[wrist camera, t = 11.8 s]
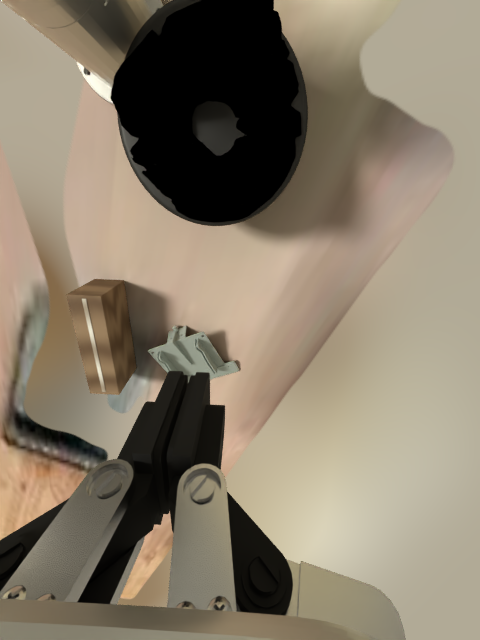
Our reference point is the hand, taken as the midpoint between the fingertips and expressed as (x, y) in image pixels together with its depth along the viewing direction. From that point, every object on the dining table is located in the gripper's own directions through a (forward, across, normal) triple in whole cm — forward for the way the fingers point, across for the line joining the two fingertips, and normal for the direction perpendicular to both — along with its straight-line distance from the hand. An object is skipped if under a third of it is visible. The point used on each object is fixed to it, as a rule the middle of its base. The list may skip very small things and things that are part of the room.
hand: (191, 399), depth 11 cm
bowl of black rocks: (+35, +2, -14) cm, 38 cm away
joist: (+35, +21, +15) cm, 44 cm away
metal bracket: (+36, +7, +21) cm, 42 cm away
